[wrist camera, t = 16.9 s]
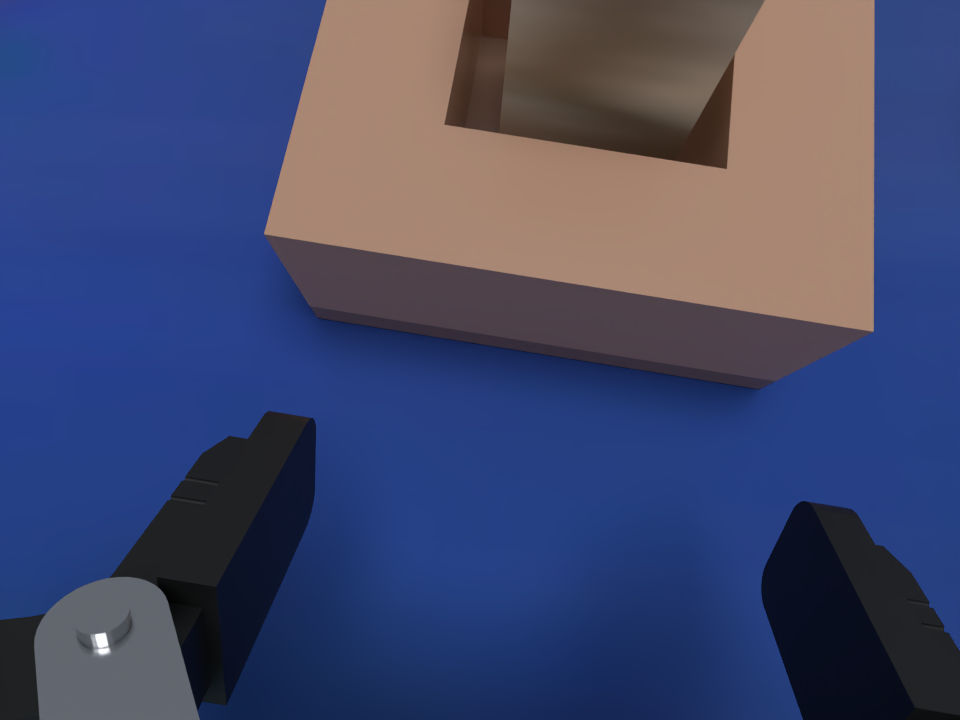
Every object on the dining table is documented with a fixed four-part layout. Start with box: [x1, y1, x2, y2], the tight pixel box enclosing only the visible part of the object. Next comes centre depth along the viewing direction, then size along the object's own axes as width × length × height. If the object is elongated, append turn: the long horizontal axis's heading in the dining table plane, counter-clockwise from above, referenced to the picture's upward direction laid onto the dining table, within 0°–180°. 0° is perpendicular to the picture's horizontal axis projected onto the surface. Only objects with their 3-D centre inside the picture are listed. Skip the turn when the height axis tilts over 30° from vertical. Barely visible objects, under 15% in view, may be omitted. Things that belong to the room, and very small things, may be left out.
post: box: [499, 0, 765, 161], centre depth 15 cm, size 4×4×10 cm
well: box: [264, 0, 874, 389], centre depth 18 cm, size 13×13×6 cm
